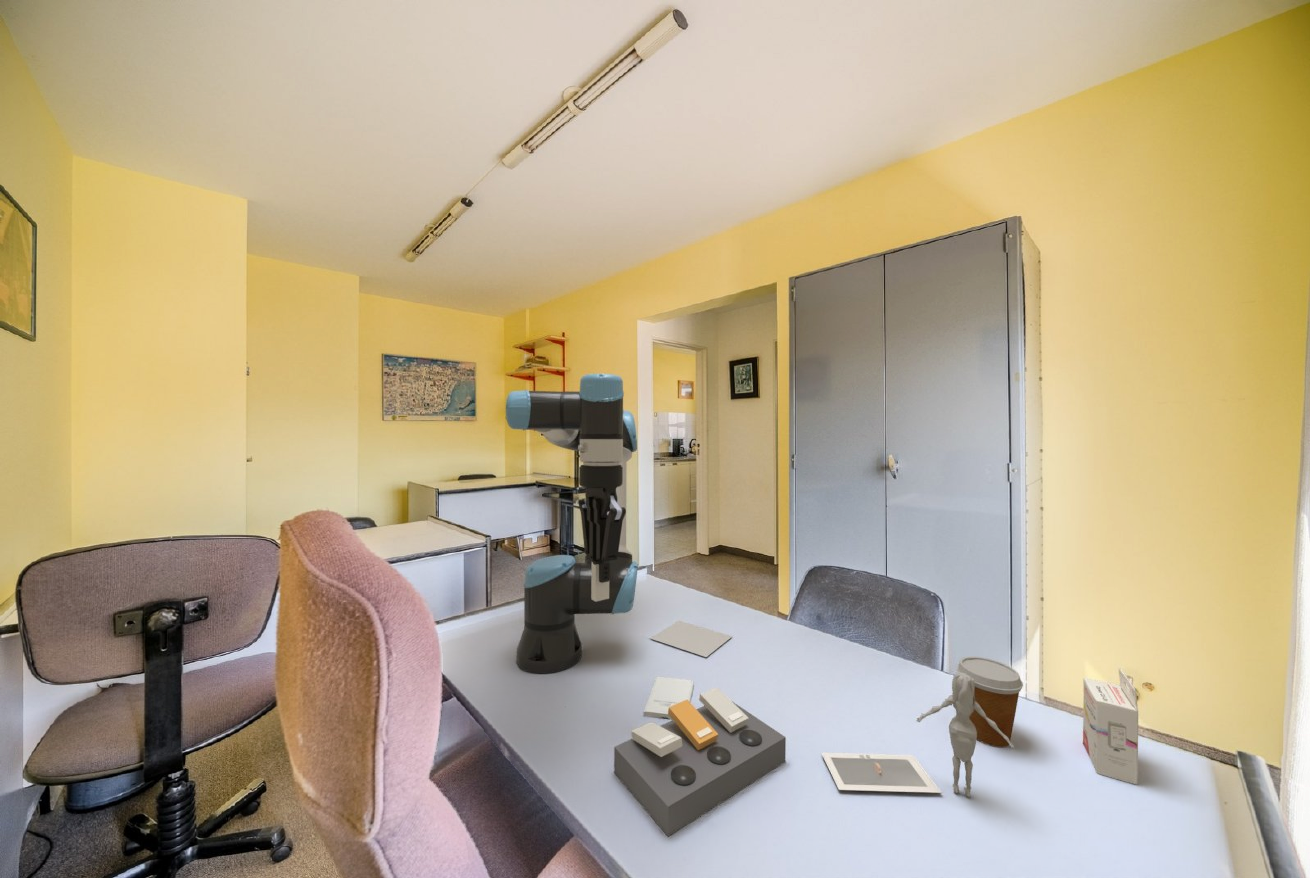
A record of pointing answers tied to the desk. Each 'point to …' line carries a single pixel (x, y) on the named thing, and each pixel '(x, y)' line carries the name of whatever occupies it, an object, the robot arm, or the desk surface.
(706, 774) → the rocker switch box
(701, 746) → the orange labeled box
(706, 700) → the block
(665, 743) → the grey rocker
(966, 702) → the human figurine
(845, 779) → the white picture frame
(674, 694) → the external hard drive
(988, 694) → the disposable coffee cup
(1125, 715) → the ink cartridge box
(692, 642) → the paper stack
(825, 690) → the desk surface
